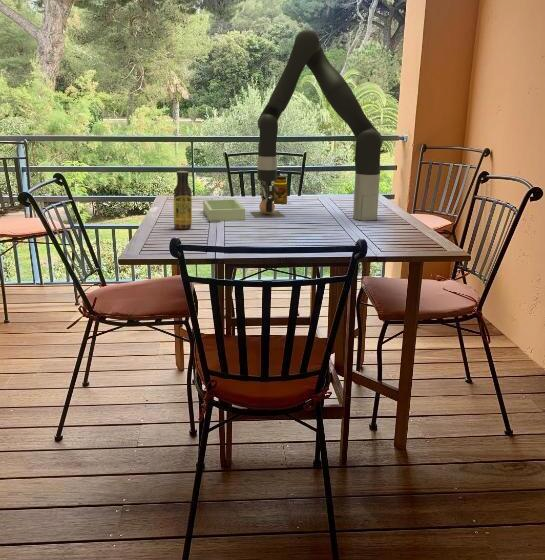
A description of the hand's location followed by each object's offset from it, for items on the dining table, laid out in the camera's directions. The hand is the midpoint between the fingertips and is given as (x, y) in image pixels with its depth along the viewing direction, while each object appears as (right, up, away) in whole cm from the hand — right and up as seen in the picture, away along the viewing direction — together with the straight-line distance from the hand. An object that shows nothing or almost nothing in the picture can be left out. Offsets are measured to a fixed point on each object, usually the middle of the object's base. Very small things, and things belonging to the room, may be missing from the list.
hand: (266, 209), depth 227 cm
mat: (0, -2, 0) cm, 2 cm away
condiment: (+5, +6, +26) cm, 27 cm away
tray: (-17, -3, -1) cm, 17 cm away
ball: (0, -2, 0) cm, 2 cm away
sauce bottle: (-29, -9, -22) cm, 38 cm away
